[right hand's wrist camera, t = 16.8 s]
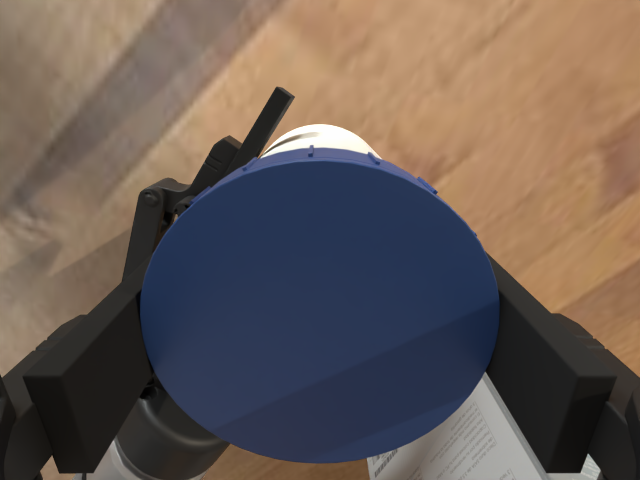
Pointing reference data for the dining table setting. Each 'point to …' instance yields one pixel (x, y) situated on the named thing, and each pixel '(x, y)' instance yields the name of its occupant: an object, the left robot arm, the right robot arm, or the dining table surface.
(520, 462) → the hard drive box
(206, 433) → the left robot arm
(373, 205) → the lid
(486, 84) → the dining table surface
